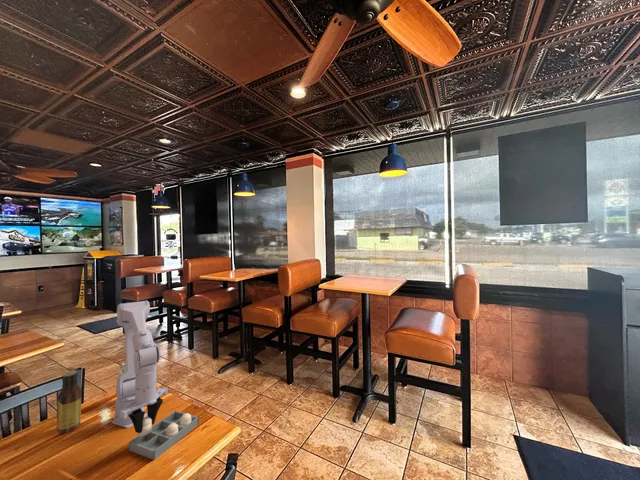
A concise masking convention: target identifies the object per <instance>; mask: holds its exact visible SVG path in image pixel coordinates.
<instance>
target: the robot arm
mask: <svg viewBox="0 0 640 480" xmlns="http://www.w3.org/2000/svg"><path fill="white" fill-rule="evenodd" d="M150 304H151V303H150V302H149V301H148V300H141V301H134V302H126V303H119V304H118V305H117V309H116V318H117V319H116V320H117V321H116V322H117V325H118V326H120V327H123V330H124V347H125V348H124V349H125V350H124V351H125V353H124V354H125V363H126V370H125V371H124V372H123V373H122V374H121V375H120V376H119V377H118V376H117V379H116V386H115V395H116V401H115V403H114V420H112V421H111V423H112V424H113V425H116V426H119V427H122V428H124V429H125V428H131V427H132V426H133V427H134V431H135V432H134V433H136V434H138V433H141V432H142V428H143V418H144V417H150V418H151V419H152V426H153V425H155V423H156V419H157V415H158V412H159V409H160V407H161V406H162V405H163V402H164V401H163V400H164V399H163V398H161V397H162V396H163V395H164V396H166V395H168V392H169V390H168V389H169V388H168V387H165V386H163V387H161V388H159V389H157V373H158V372H157V369H158V368H157V367H158V366H157V364H158V363H159V362H160V349H159V345H157V343H156V342H154V339H153V334H152V332H151V330H149V329H147V324H146V323H147V321H146V320H147V319H148V317H149V315H150V311H151V310H150V308H151V307H150V306H151V305H150ZM134 376H136V377H134ZM131 377H134V378H131ZM128 378H131V379H128ZM125 379H127V380H125ZM145 407H146V410H147V412H146V411H145Z"/></svg>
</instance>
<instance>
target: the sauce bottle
mask: <svg viewBox="0 0 640 480" xmlns="http://www.w3.org/2000/svg"><path fill="white" fill-rule="evenodd" d="M61 380H62V385H61V389H60V392H59V393H58V396H57V399H56V430H57V433H58V434H64V433H68V432H72V431H74V430H75V429H77V428H78V427H80V425H81V420H82V389H81V387H80V386H79V384H78V370H72V371H68V372H64V373H63V374H62V376H61Z"/></svg>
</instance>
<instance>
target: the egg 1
mask: <svg viewBox="0 0 640 480" xmlns="http://www.w3.org/2000/svg"><path fill="white" fill-rule="evenodd" d="M152 426H153V425H152V419H151V418H150V417H148V416H147V417H144V418H143V428H142V432H141V433H137V436H145V435H147V434H149V433H150V432H151V430H152Z"/></svg>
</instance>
